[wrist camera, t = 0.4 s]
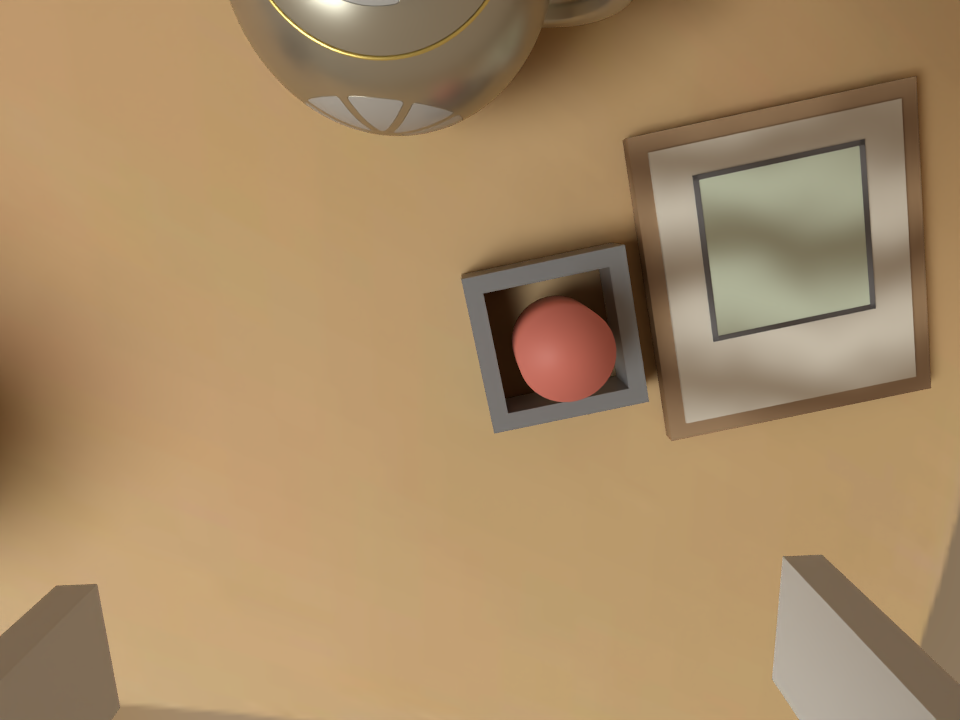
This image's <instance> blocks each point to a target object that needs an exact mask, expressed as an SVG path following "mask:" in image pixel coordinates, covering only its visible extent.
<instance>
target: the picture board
mask: <svg viewBox="0 0 960 720" xmlns="http://www.w3.org/2000/svg"><path fill="white" fill-rule="evenodd" d="M623 145H624V152H625V159H626V165H627V172H628V179H629V186H630V192H631V199H632V206H633V213H634V219H635V226H636V233H637V239H638V246H639V253H640V260H641V266H642V273H643V280H644V287H645V293H646V300H647V307H648V314H649V320H650V327H651V334H652V340H653V347H654V354H655V361H656V367H657V374H658V381H659V388H660V394H661V401H662V408H663V414H664V421H665V428H666V435H667V436H668V437H669V439H670V440H671V441H674V440H679V439H684V438H689V437H694V436H698V435H703V434H708V433H713V432H718V431H723V430H728V429H733V428H738V427H743V426H747V425H752V424H757V423H762V422H767V421H772V420H777V419H782V418H787V417H791V416H796V415H801V414H806V413H811V412H816V411H821V410H826V409H831V408H836V407H840V406H845V405H850V404H855V403H860V402H865V401H870V400H875V399H880V398H885V397H889V396H894V395H899V394H904V393H909V392H914V391H919V390H924V389H929V388H931V378H930V356H929V335H928V314H927V293H926V271H925V250H924V229H923V208H922V186H921V165H920V144H919V123H918V101H917V80H916V76H914V77H909V78H905V79H900V80H895V81H891V82H886V83H881V84H877V85H872V86H867V87H863V88H858V89H854V90H849V91H844V92H840V93H835V94H830V95H826V96H821V97H816V98H812V99H807V100H802V101H798V102H793V103H788V104H784V105H779V106H775V107H770V108H765V109H761V110H756V111H751V112H747V113H742V114H737V115H733V116H728V117H723V118H719V119H714V120H709V121H705V122H700V123H695V124H691V125H686V126H682V127H677V128H672V129H668V130H663V131H658V132H654V133H649V134H644V135H640V136H635V137H630V138H627V139H625V140H623Z"/></svg>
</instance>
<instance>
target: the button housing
mask: <svg viewBox="0 0 960 720" xmlns="http://www.w3.org/2000/svg"><path fill="white" fill-rule="evenodd" d="M597 269H599V272H600V279H601V285H602V291H603V297H604V303H605V309H606V315H607V321H608V326H609V328H610V329H611V331H612V333H613V336H614V339H615V343H616V361H615V370H616V376H613V377H609V378H608V380H607V381H606V383H605V384H604V385H603V386H602V387H601V388H600V389H599V390H598V391H596V392H595V393H594V394H592V395H590V396H589V397H586V398H584V399H582V400H578V401H573V402H557V401H553V400H549V399H547V398H544V397H542V396H541V395H539V394H538V393H536V392H535V393H530V394H526V395H521V396H516V397H511V398H506V399H505V396H504V391H503V386H502V382H501V377H500V372H499V367H498V362H497V358H496V353H495V348H494V343H493V338H492V333H491V329H490V324H489V319H488V314H487V309H486V304H485V300H484V295H483V293H488V292H493V291H498V290H502V289H507V288H512V287H517V286H521V285H526V284H531V283H536V282H540V281H545V280H550V279H555V278H559V277H564V276H569V275H574V274H578V273H583V272H588V271H592V270H597ZM461 280H462V284H463V289H464V294H465V298H466V303H467V308H468V312H469V317H470V322H471V326H472V331H473V336H474V340H475V345H476V350H477V354H478V359H479V364H480V368H481V373H482V378H483V382H484V387H485V392H486V396H487V401H488V406H489V410H490V415H491V420H492V424H493V429H494V433H499V432H504V431H509V430H513V429H518V428H523V427H528V426H533V425H538V424H543V423H548V422H552V421H557V420H562V419H567V418H572V417H577V416H582V415H586V414H591V413H596V412H601V411H606V410H611V409H616V408H620V407H625V406H630V405H635V404H640V403H645V402H649V399H648V393H647V386H646V380H645V373H644V367H643V360H642V354H641V347H640V340H639V334H638V327H637V321H636V314H635V308H634V301H633V295H632V288H631V282H630V275H629V269H628V262H627V256H626V249H625V245H623V244H617V243H608V244H603V245H599V246H594V247H589V248H585V249H580V250H575V251H570V252H566V253H561V254H556V255H551V256H547V257H542V258H537V259H533V260H528V261H523V262H518V263H514V264H509V265H504V266H499V267H495V268H490V269H485V270H481V271H476V272H471V273H466V274H462V278H461Z"/></svg>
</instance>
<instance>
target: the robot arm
mask: <svg viewBox="0 0 960 720" xmlns="http://www.w3.org/2000/svg"><path fill="white" fill-rule="evenodd" d="M772 680H773V681H774V683H775V684H776V686H777V687H778V689H779V690H780V692H781V693H782V695H783V696H784V698H785V699H786V701H787V702H788V704H789V705H790V707H791V708H792V710H793V711H794V713H795V714H796V716H797V717H798V718H799V720H960V684H959V683H958V682H957V681H955V680H954V679H953V678H952V677H951V676H950V675H949V674H948V673H947V672H946V671H945V670H944V669H943V668H942V667H941V666H940V665H939V664H937V663H936V662H935V661H934V660H933V659H932V658H931V657H930V656H929V655H928V654H927V653H925V651H924V650H923V649H922V648H920V647H919V646H918V645H917V644H916V643H915V642H914V641H913V640H912V639H911V638H910V637H909V636H908V635H907V634H906V633H905V632H903V631H902V630H901V629H900V628H899V627H898V626H897V625H896V624H895V623H894V622H893V621H892V620H891V619H890V618H889V617H888V616H886V615H885V614H884V613H883V612H882V611H881V610H880V609H879V608H878V607H877V606H876V605H875V604H874V603H873V602H872V601H871V600H869V599H868V598H867V597H866V596H865V595H864V594H863V593H862V592H861V591H860V590H859V589H858V588H857V587H856V586H855V585H854V584H852V583H851V582H850V581H849V580H848V579H847V578H846V577H845V576H844V575H843V574H842V573H841V572H840V571H839V570H838V569H837V568H835V567H834V566H833V565H832V564H831V563H830V562H829V561H828V560H827V559H826V558H825V557H824V556H823V555H805V556H783V560H782V572H781V583H780V595H779V606H778V618H777V629H776V641H775V652H774V664H773V675H772ZM119 709H120V705H119V699H118V694H117V688H116V683H115V678H114V672H113V667H112V661H111V656H110V651H109V645H108V640H107V635H106V629H105V624H104V618H103V613H102V608H101V602H100V597H99V592H98V586H97V584H87V585H62V586H55V587H54V588H53V589H52V590H51V591H50V592H49V593H48V594H47V595H45V596H44V597H43V598H42V599H41V600H40V601H39V602H38V603H37V604H35V605H34V606H33V607H32V608H31V609H30V610H29V611H28V612H27V613H26V614H24V615H23V616H22V617H21V618H20V619H19V620H18V621H17V622H16V623H14V624H13V625H12V626H11V627H10V628H9V629H8V630H7V631H6V632H4V633H3V634H2V635H1V636H0V720H112V719H113V717H114V716H115V714H116V713H117V711H118V710H119Z"/></svg>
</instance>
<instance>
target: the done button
mask: <svg viewBox="0 0 960 720" xmlns="http://www.w3.org/2000/svg"><path fill="white" fill-rule="evenodd" d="M512 348H513V352H514V355H515V358H516V361H517V363H518V366H519V369H520V371H521V374H522V376H523V378H524V380H525V381H526V383H527V384H528V385H529V387H530V388H532V389H533V390H534V391H535V392H536V393H538V394H539V395H541V396H542V397H544V398H547V399H549V400H553V401H557V402H573V401H578V400H582V399H584V398H586V397H589V396H590V395H592V394H594V393H595V392H596V391H598V390H599V389H600V388H601V387H602V386H603V385H604V384H605V383H606V381H607V380H608V378H609V377H610V375H611V373H612V371H613V368H614V365H615V361H616V343H615V339H614V336H613V333H612V331H611V329H610V328H609V326H608V325H607V323H606V322H605V321H604V320H603V319H602V318H601V317H600V316H599V315H597V314H596V313H595V312H593V311H592V310H590V309H589V308H588V307H586V306H585V305H583V304H582V303H580V302H579V301H577V300H575V299H572V298H569V297H566V296H549V297H545V298H542V299H539V300H537V301H535V302H533V303H532V304H530V305H529V306H528V307H527V308H526V309H525V310H524V311H523V312H522V313H521V314H520V316H519V317H518V319H517V321H516V323H515V325H514V329H513V333H512Z"/></svg>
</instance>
